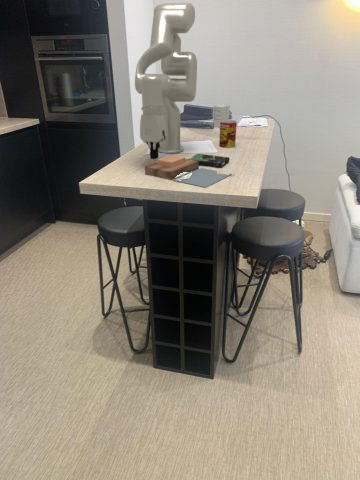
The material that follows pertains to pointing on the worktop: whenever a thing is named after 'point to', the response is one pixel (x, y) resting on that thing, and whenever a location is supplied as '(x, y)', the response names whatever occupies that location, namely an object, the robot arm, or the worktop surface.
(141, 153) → the worktop surface
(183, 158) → the terracotta tile
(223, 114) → the supplement box
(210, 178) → the slate mat
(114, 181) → the worktop surface
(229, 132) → the canned food
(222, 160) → the disk drive
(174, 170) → the block
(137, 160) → the worktop surface
